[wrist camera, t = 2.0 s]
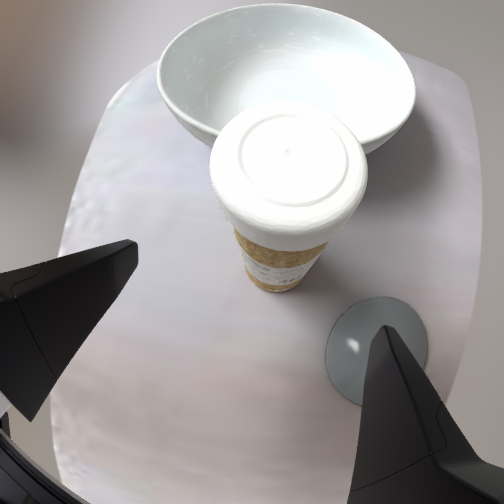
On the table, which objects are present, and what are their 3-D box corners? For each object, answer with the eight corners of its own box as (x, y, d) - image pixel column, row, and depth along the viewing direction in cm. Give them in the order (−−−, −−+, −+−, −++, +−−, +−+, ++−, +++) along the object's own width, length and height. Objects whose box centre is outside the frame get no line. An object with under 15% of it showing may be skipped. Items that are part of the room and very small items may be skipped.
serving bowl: (394, 78, 25) (412, 36, 18) (372, 238, 20) (412, 201, 14) (228, 37, 28) (222, -6, 21) (137, 164, 23) (103, 116, 16)
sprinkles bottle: (297, 225, 21) (335, 87, 8) (315, 284, 20) (397, 210, 7) (236, 240, 21) (195, 112, 8) (252, 301, 20) (226, 253, 7)
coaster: (383, 420, 17) (387, 423, 16) (302, 368, 18) (303, 370, 17) (437, 333, 18) (443, 333, 17) (365, 276, 20) (369, 274, 19)
